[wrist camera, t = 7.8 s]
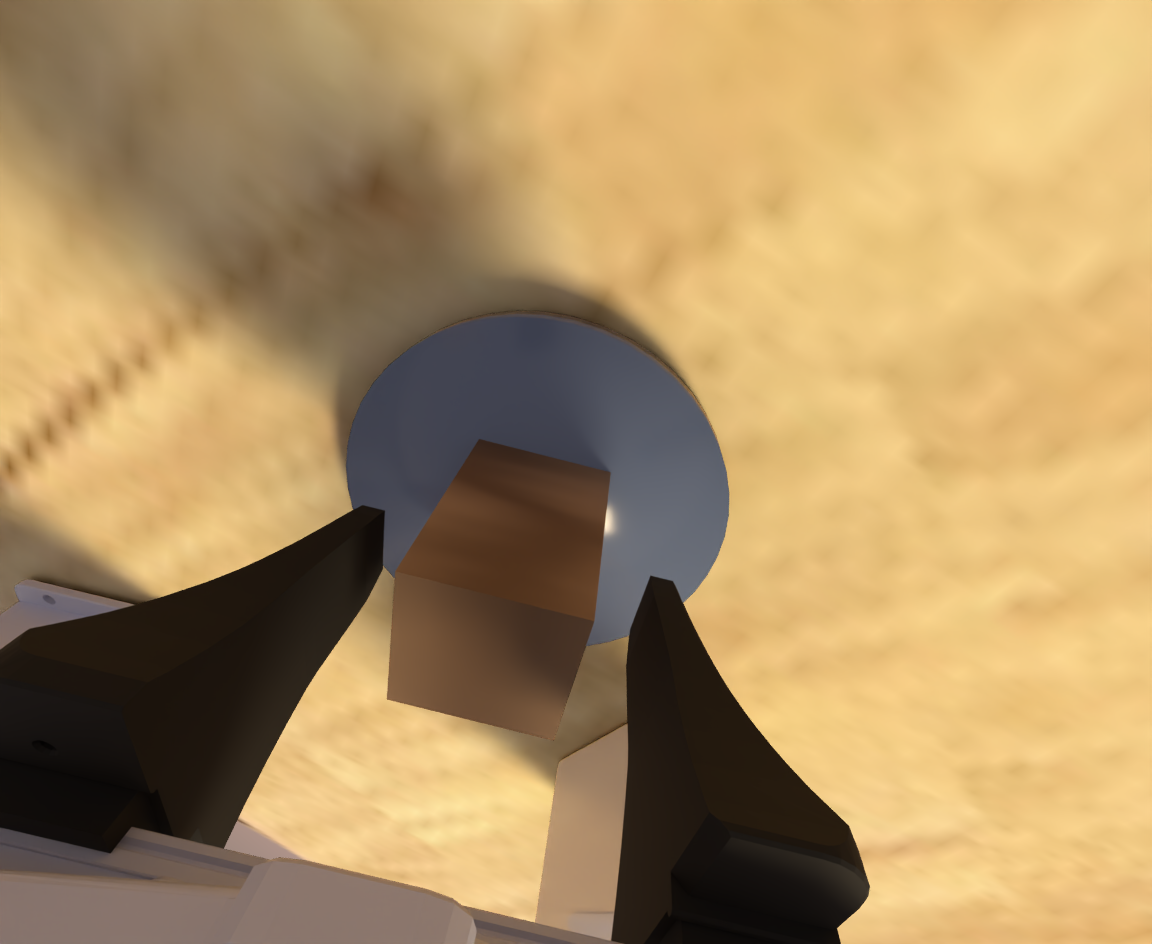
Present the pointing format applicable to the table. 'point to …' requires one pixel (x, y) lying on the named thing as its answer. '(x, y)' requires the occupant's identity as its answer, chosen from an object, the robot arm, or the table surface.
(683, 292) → the table surface
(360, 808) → the table surface
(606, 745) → the jar
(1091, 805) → the table surface
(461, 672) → the walnut block
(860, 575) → the table surface
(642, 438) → the blue-grey round disc
